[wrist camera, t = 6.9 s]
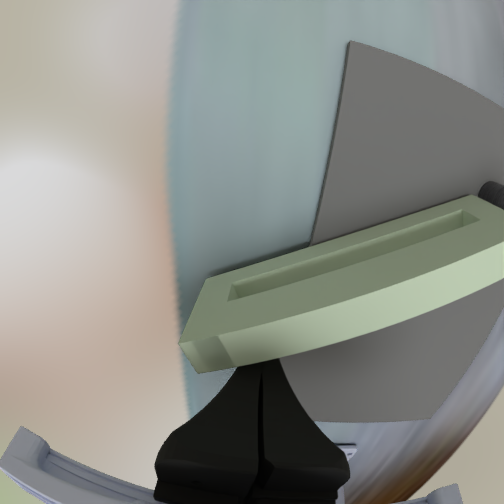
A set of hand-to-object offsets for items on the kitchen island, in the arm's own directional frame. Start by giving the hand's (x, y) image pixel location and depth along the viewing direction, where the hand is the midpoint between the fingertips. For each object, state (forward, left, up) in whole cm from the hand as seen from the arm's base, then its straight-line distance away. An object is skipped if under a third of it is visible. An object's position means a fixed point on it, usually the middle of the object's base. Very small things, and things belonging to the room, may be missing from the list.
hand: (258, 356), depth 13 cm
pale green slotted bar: (+5, -3, -2) cm, 6 cm away
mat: (+3, -8, -3) cm, 9 cm away
